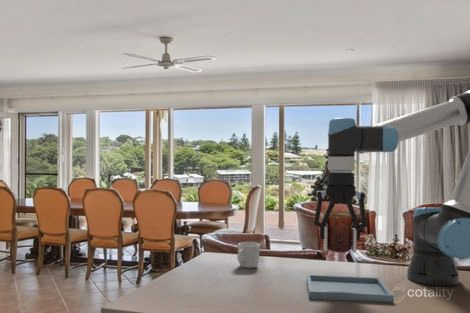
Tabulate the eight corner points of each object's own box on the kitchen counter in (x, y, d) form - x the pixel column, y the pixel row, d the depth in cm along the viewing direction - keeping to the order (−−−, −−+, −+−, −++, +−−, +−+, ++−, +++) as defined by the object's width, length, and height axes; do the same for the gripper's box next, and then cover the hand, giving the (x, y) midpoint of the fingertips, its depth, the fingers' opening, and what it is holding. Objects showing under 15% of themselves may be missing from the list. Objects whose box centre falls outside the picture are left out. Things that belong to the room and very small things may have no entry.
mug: (323, 246, 134) (324, 213, 134) (353, 248, 133) (353, 214, 133) (323, 255, 123) (324, 218, 123) (356, 256, 121) (356, 219, 121)
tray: (379, 284, 135) (379, 277, 135) (393, 303, 117) (393, 295, 117) (306, 280, 138) (306, 274, 138) (309, 298, 120) (309, 291, 120)
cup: (248, 272, 147) (249, 248, 147) (228, 268, 151) (228, 245, 151) (264, 266, 156) (264, 243, 156) (244, 263, 160) (245, 240, 161)
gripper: (374, 172, 130) (373, 249, 130) (304, 170, 133) (303, 246, 133) (379, 172, 123) (378, 255, 123) (305, 171, 125) (304, 252, 125)
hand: (339, 250), depth 128 cm, fingers closed on mug, 7 cm apart
